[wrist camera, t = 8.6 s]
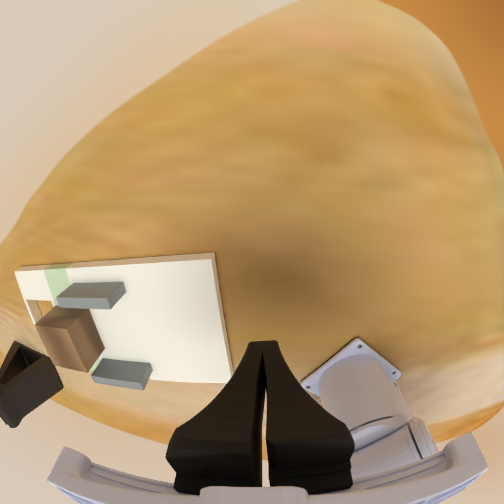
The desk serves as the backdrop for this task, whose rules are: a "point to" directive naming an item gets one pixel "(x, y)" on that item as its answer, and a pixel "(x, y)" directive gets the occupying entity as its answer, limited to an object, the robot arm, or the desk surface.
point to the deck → (146, 316)
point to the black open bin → (25, 383)
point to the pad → (60, 286)
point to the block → (70, 338)
